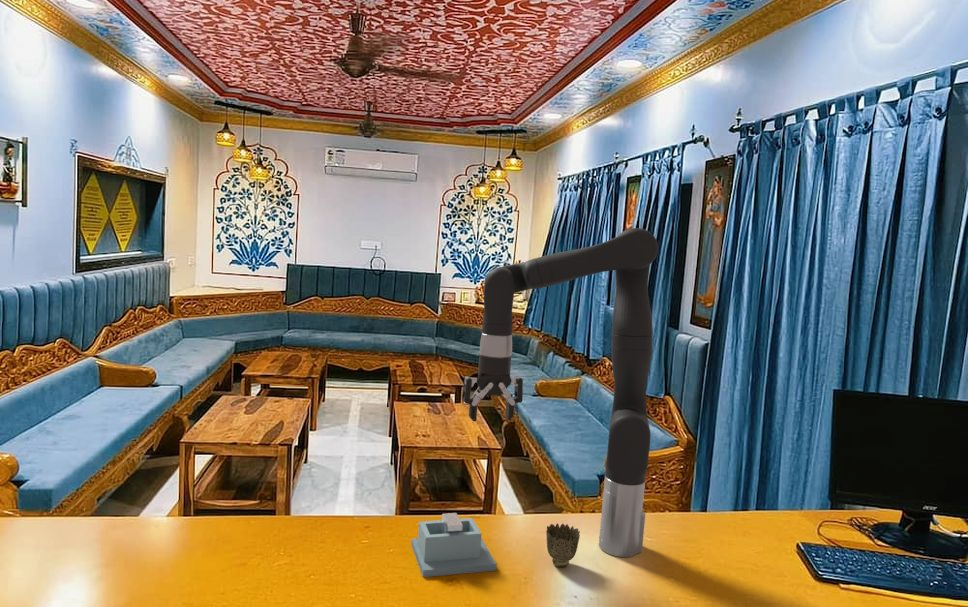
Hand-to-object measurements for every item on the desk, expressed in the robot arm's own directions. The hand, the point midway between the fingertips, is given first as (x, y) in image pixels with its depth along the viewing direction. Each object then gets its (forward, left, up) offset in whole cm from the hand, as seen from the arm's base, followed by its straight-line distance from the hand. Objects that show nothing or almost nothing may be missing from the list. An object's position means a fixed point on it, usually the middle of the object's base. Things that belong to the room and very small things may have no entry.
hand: (490, 420), depth 152 cm
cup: (-13, +17, -28) cm, 35 cm away
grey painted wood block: (+11, +11, -27) cm, 31 cm away
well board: (+10, +10, -28) cm, 31 cm away
